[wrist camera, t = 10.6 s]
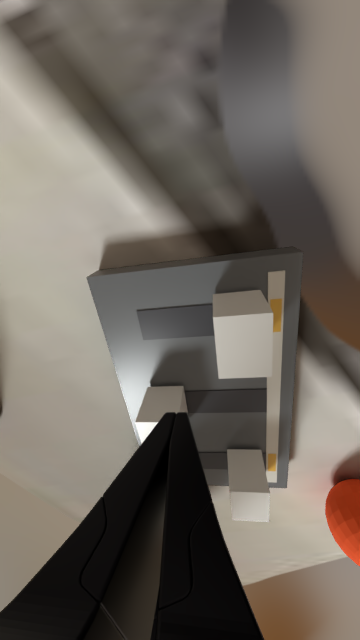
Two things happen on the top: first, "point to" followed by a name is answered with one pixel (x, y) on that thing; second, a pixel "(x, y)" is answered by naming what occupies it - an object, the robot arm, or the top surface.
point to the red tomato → (345, 516)
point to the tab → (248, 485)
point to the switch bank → (206, 349)
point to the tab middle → (159, 407)
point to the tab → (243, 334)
